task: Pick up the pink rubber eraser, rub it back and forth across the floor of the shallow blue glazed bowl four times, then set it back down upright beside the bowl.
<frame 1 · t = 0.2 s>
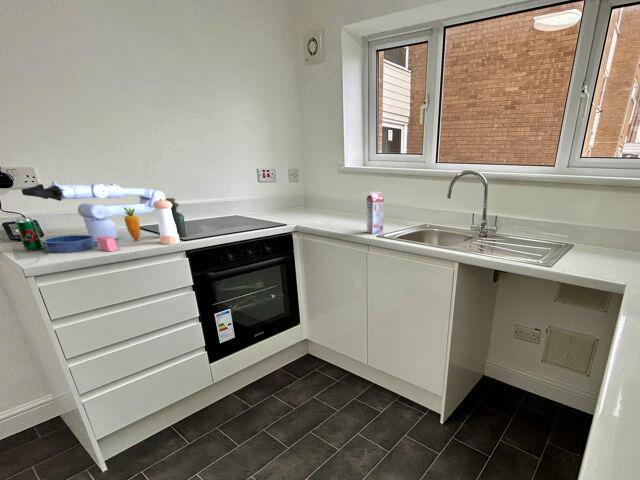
hand: (28, 193, 133), 21 cm above the countertop, tool horizontal, fingers open, 7 cm apart
carrot: (136, 241, 157), on the countertop
juice carton: (374, 232, 197), on the countertop
bowl: (71, 248, 142), on the countertop
eraser: (108, 249, 142), on the countertop
pepper shaker: (170, 242, 157), on the countertop
soda can: (34, 250, 138), on the countertop
green spray bottle: (178, 237, 169), on the countertop
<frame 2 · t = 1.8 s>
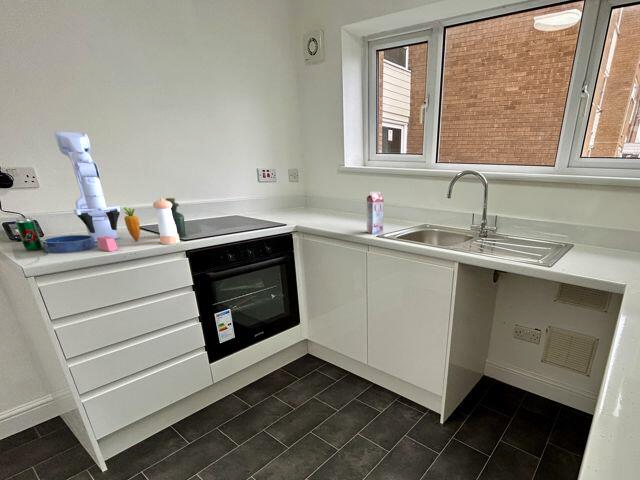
hand: (103, 231, 139), 8 cm above the countertop, tool pointing down, fingers open, 7 cm apart
nothing on the countertop moved.
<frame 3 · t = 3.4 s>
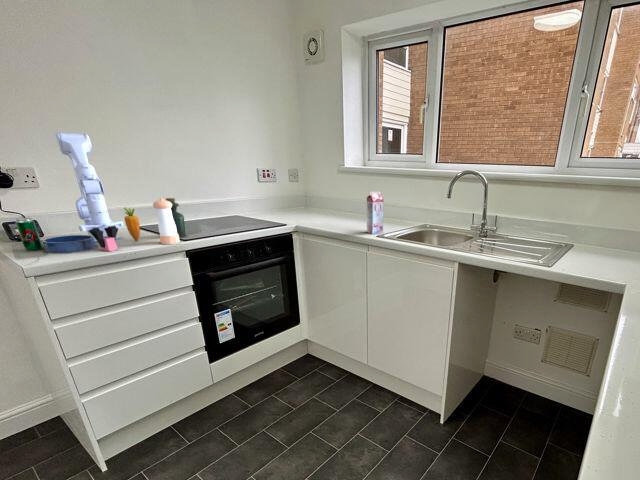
hand: (108, 246, 141), 1 cm above the countertop, tool pointing down, fingers closed on eraser, 3 cm apart
eraser: (109, 249, 142), on the countertop, touching gripper
everything else where it was.
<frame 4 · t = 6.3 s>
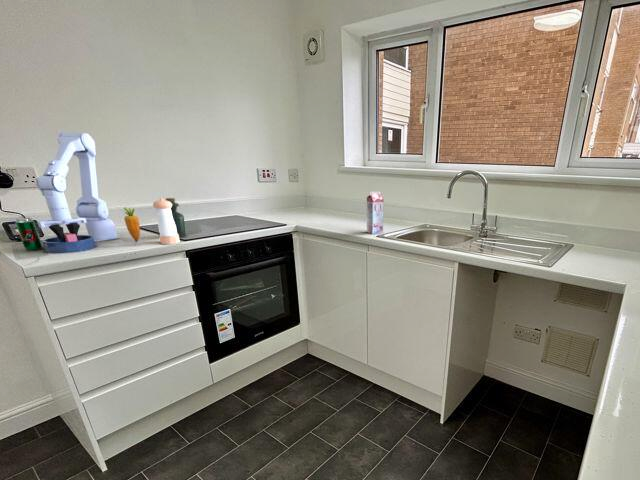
hand: (69, 242, 141), 2 cm above the countertop, tool pointing down, fingers closed on eraser, 3 cm apart
eraser: (70, 246, 142), point 1 cm above the countertop, touching gripper
everything else where it was.
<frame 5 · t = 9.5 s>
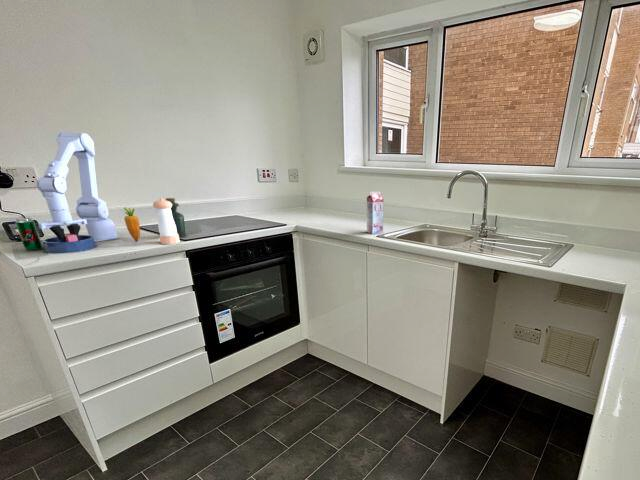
hand: (70, 244, 141), 2 cm above the countertop, tool pointing down, fingers closed on eraser, 3 cm apart
eraser: (71, 247, 142), point 1 cm above the countertop, touching gripper
everything else where it was.
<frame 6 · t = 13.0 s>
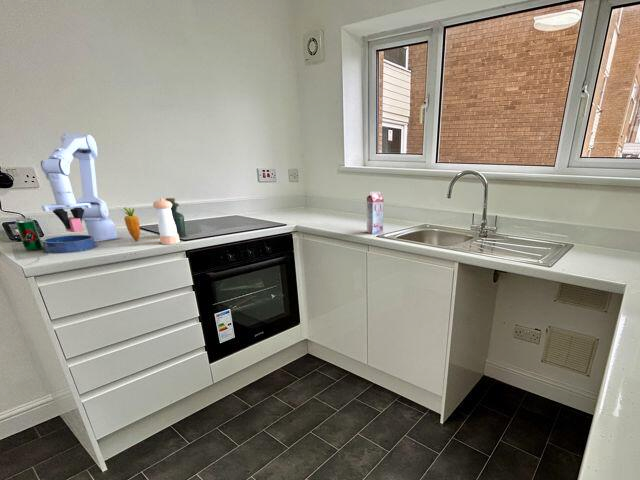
hand: (73, 228, 139), 8 cm above the countertop, tool pointing down, fingers closed on eraser, 3 cm apart
eraser: (75, 231, 139), point 7 cm above the countertop, touching gripper
everything else where it was.
when the fingers open (1 cm above the countertop, at t = 15.9 s): eraser stays where it is, on the countertop.
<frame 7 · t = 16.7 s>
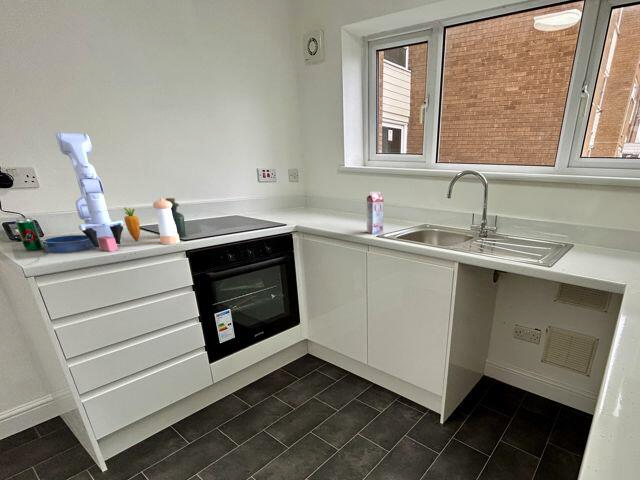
hand: (107, 245, 141), 2 cm above the countertop, tool pointing down, fingers open, 7 cm apart
eraser: (109, 249, 142), on the countertop
everything else where it was.
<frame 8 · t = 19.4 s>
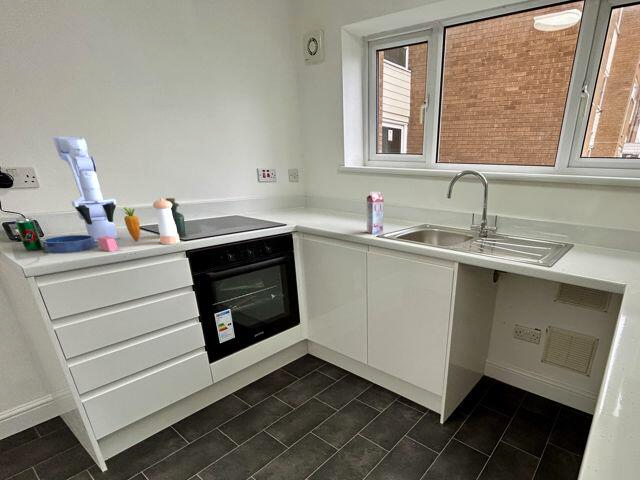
hand: (100, 223, 145), 9 cm above the countertop, tool pointing down, fingers open, 7 cm apart
nothing on the countertop moved.
at the end: eraser inside the target area (0.2 cm from its centre), on the countertop; eraser tilted 0°; the gripper is holding nothing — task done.
